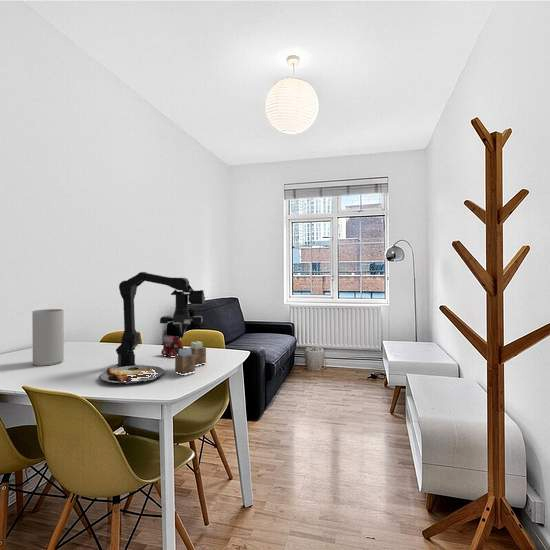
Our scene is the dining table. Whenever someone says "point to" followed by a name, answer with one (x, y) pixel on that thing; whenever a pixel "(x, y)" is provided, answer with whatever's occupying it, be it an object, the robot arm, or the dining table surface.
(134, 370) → the food plate
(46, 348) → the cylinder vase
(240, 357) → the dining table surface
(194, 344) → the key
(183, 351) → the key
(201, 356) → the key post
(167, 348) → the toy fire truck
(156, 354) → the dining table surface
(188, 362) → the key post
